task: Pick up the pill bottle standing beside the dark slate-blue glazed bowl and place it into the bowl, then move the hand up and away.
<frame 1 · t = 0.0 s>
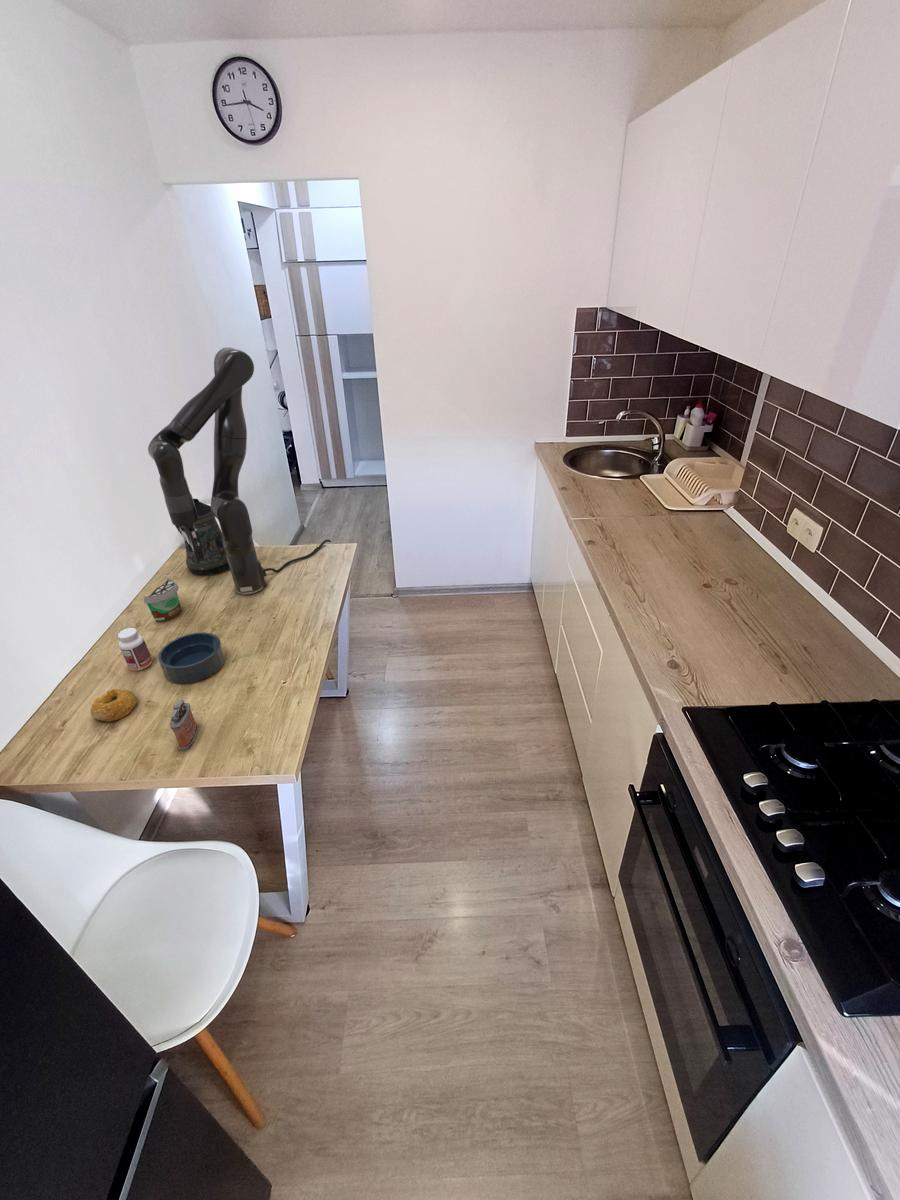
hand: (196, 555, 177), 17 cm above the table, tool pointing down, fingers open, 8 cm apart
bagel: (117, 710, 144), on the table
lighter: (189, 738, 135), on the table
pill bottle: (141, 665, 160), on the table
bowl: (195, 666, 158), on the table
food container: (173, 615, 181), on the table
beer stein: (208, 566, 208), on the table
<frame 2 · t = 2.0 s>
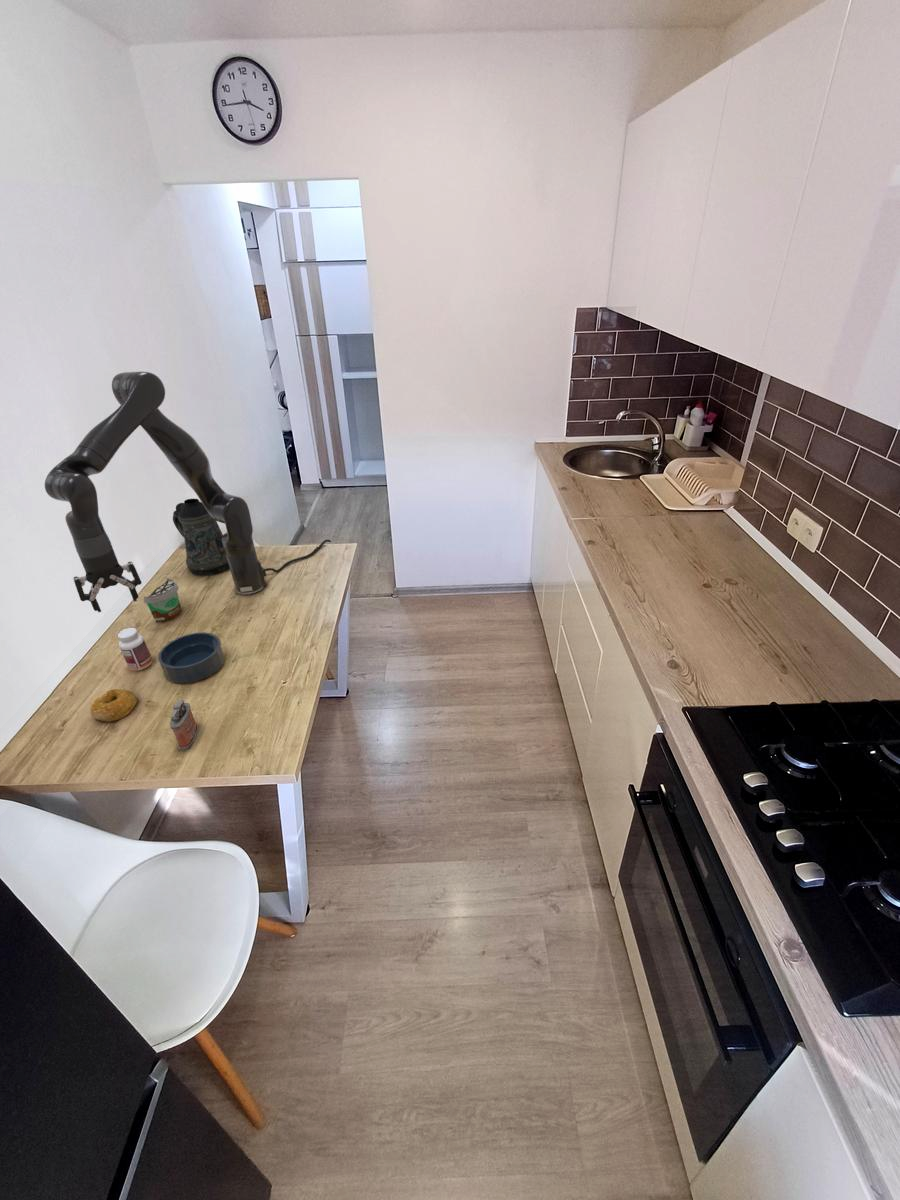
hand: (117, 605, 150), 19 cm above the table, tool pointing down, fingers open, 8 cm apart
nothing on the table moved.
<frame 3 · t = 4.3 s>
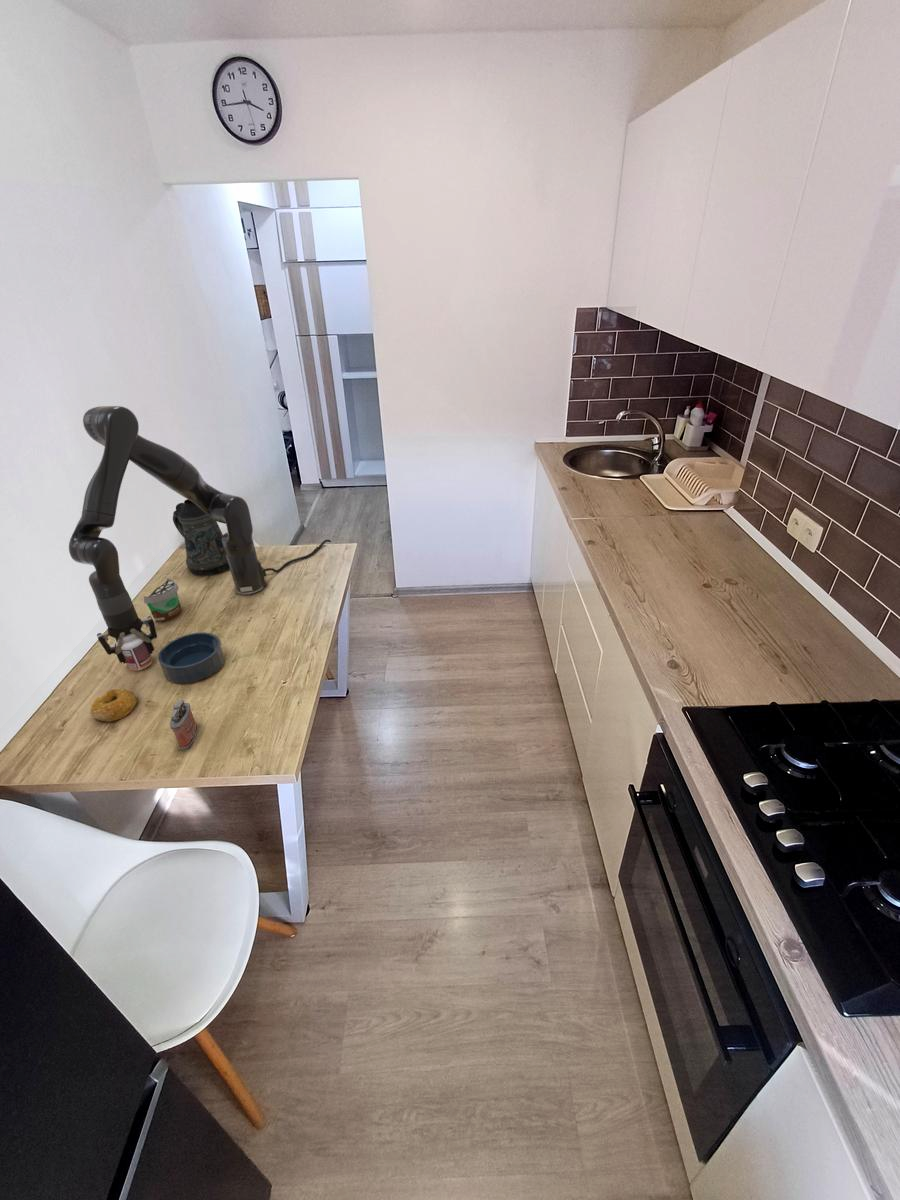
hand: (137, 657, 158), 3 cm above the table, tool pointing down, fingers closed on pill bottle, 6 cm apart
pill bottle: (141, 665, 160), on the table, touching gripper
everything else where it was.
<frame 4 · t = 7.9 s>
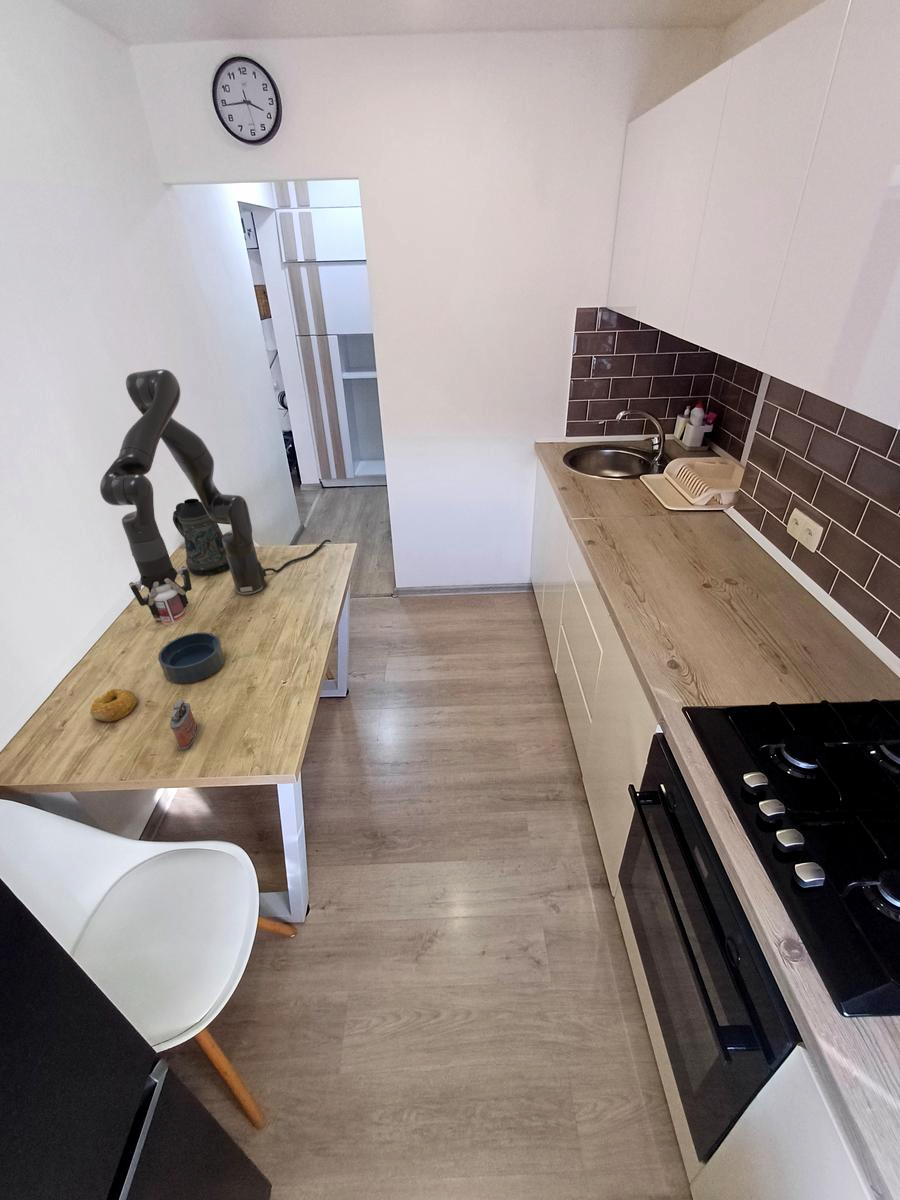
hand: (171, 610, 148), 19 cm above the table, tool pointing down, fingers closed on pill bottle, 6 cm apart
pill bottle: (174, 619, 150), point 16 cm above the table, touching gripper
everything else where it was.
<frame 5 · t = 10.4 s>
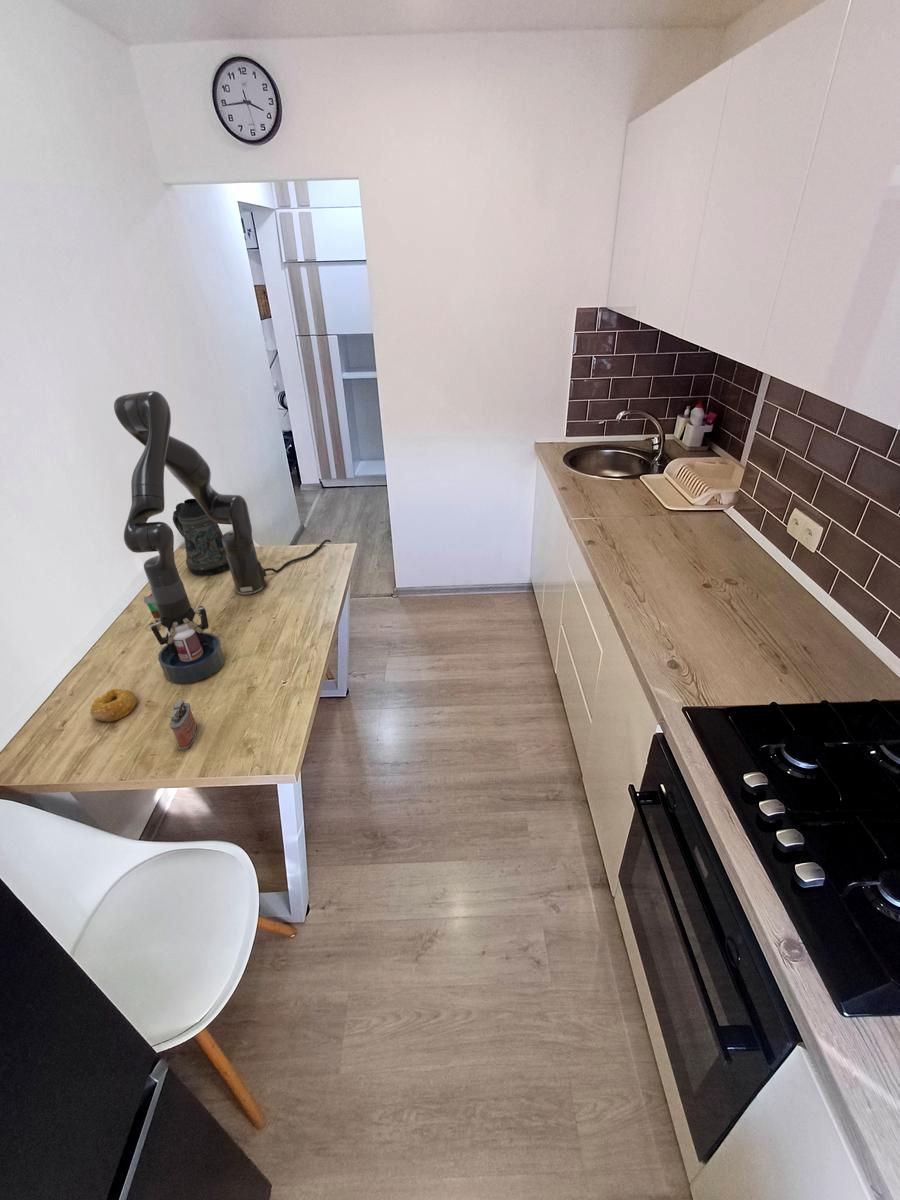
hand: (188, 647, 154), 7 cm above the table, tool pointing down, fingers closed on pill bottle, 6 cm apart
pill bottle: (191, 656, 156), point 4 cm above the table, touching gripper
everything else where it was.
when the fingers open (3 cm above the table, at t = 11.9 s): pill bottle stays where it is, resting on bowl.
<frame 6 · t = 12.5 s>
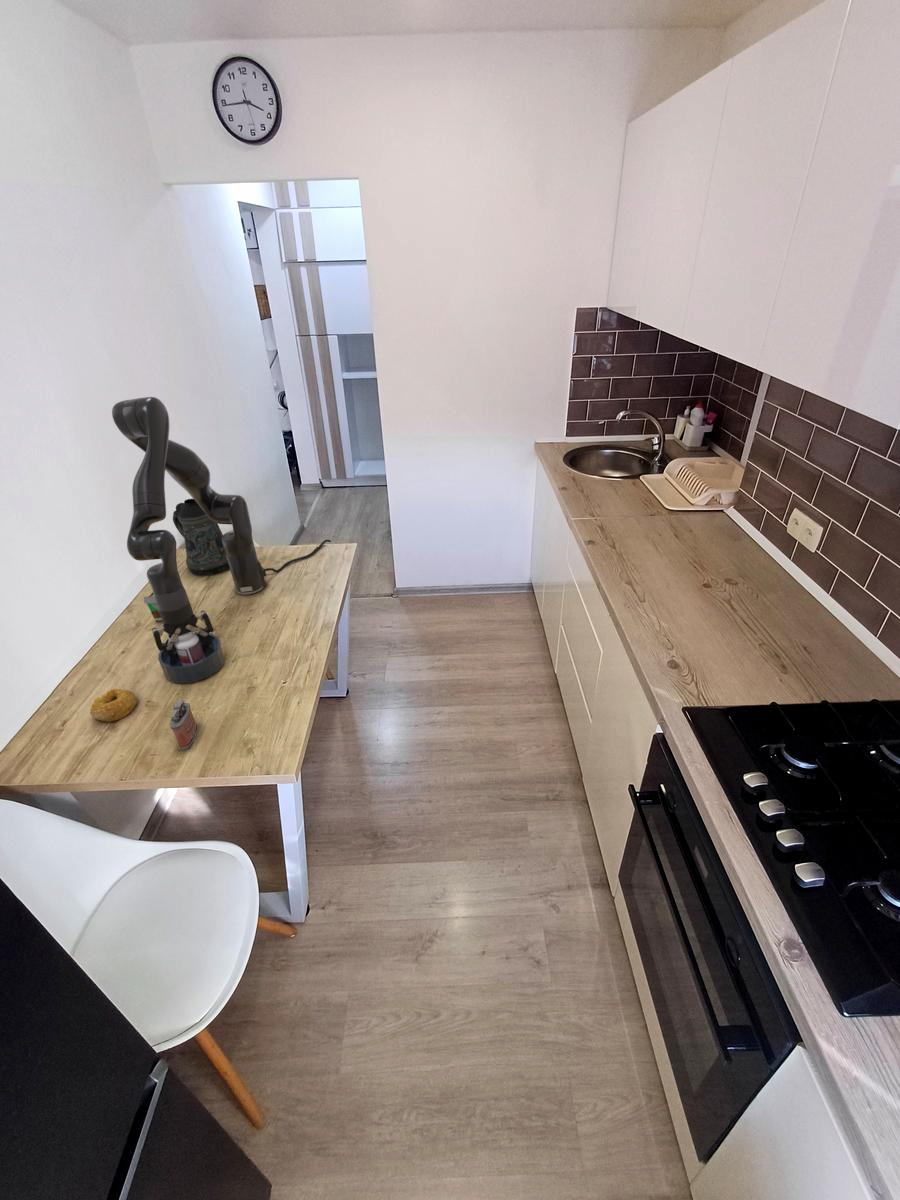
hand: (191, 652, 155), 5 cm above the table, tool pointing down, fingers open, 8 cm apart
pill bottle: (195, 664, 157), point 1 cm above the table, touching bowl
everything else where it was.
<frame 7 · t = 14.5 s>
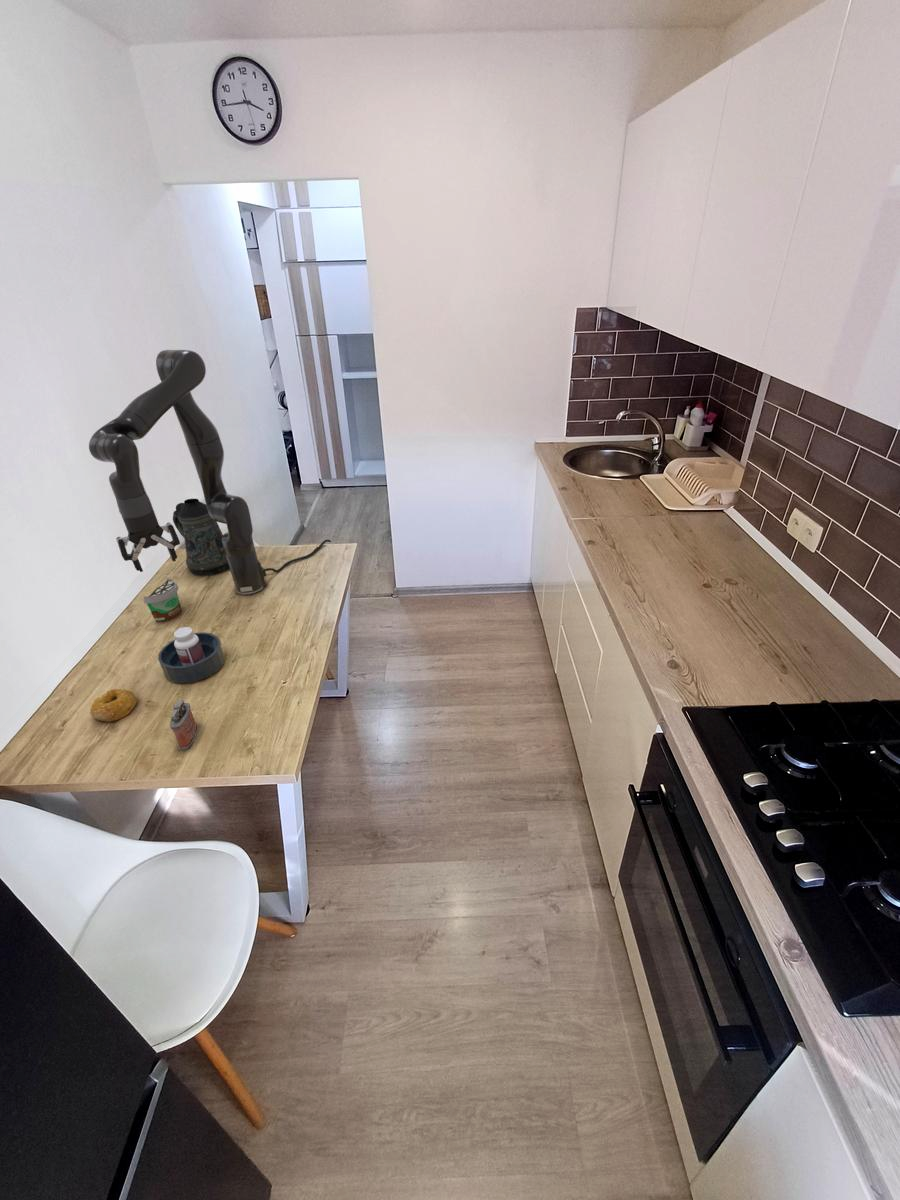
hand: (157, 565, 155), 25 cm above the table, tool pointing down, fingers open, 8 cm apart
nothing on the table moved.
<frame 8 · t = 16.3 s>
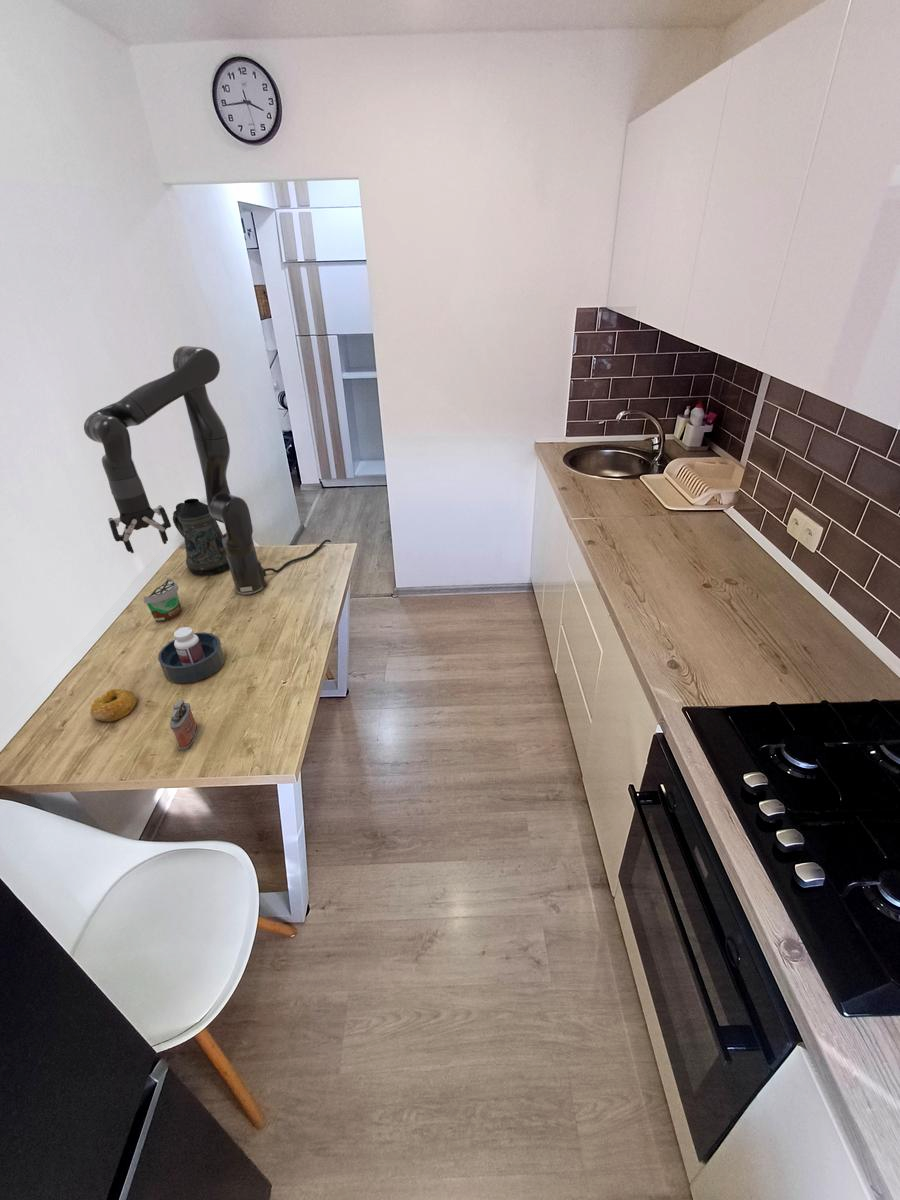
hand: (148, 547, 159), 28 cm above the table, tool pointing down, fingers open, 8 cm apart
nothing on the table moved.
at the end: pill bottle inside the target area in the bowl (0.0 cm from its centre), point 0.6 cm above the bowl's base; the gripper is holding nothing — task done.
